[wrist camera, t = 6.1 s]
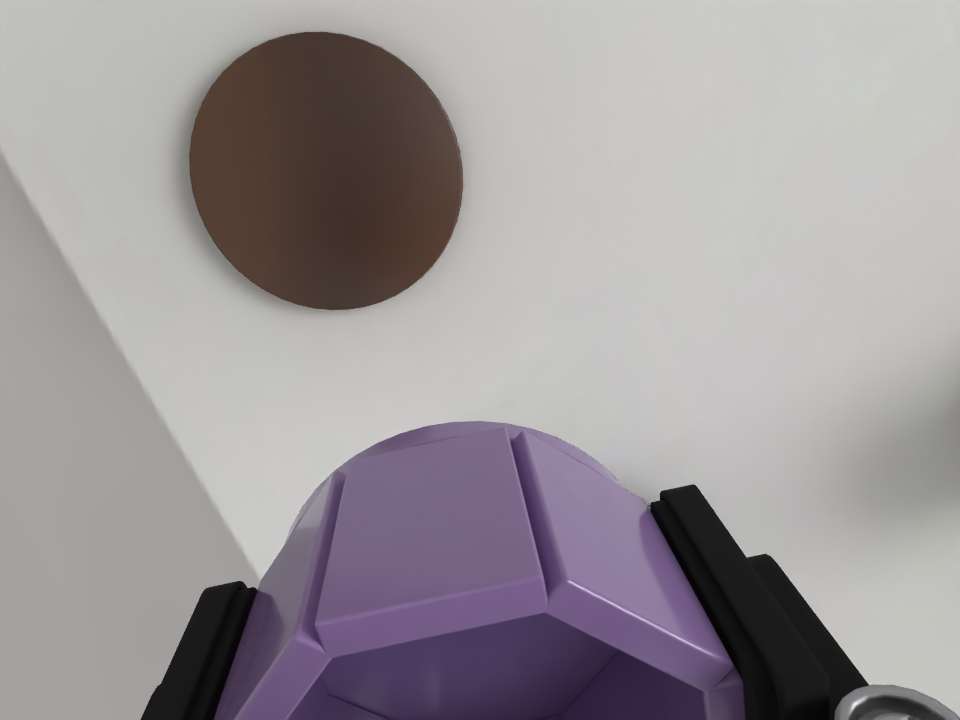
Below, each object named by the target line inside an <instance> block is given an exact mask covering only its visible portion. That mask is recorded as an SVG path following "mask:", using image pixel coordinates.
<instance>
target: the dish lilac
mask: <svg viewBox="0 0 960 720" xmlns="http://www.w3.org/2000/svg"><path fill="white" fill-rule="evenodd" d="M213 720H746V719H745V705H744V691H743V682H742V679H741V677H740V675H739V673H738V671H737V669H736V667H735V666H734V664H733V662H732V660H731V658H730V656H729V655H728V653H727V651H726V649H725V647H724V645H723V644H722V642H721V640H720V638H719V636H718V634H717V633H716V631H715V629H714V627H713V625H712V623H711V622H710V620H709V618H708V616H707V614H706V612H705V610H704V609H703V607H702V605H701V603H700V601H699V599H698V598H697V596H696V594H695V592H694V590H693V588H692V587H691V585H690V583H689V581H688V579H687V577H686V576H685V574H684V572H683V570H682V568H681V566H680V565H679V563H678V561H677V559H676V557H675V555H674V553H673V552H672V550H671V548H670V546H669V544H668V542H667V541H666V539H665V537H664V535H663V533H662V531H661V530H660V528H659V526H658V524H657V522H656V520H655V519H654V517H653V515H652V513H651V512H650V510H649V508H648V506H647V504H646V502H645V501H644V499H642V498H640V497H638V496H637V495H635V494H633V493H631V492H630V491H628V490H626V489H624V488H623V486H622V485H621V484H620V483H619V482H618V480H617V479H616V478H615V477H614V476H613V475H612V474H611V473H610V472H609V471H608V470H607V469H606V468H605V467H603V466H602V465H601V464H600V463H599V462H598V461H597V460H595V459H594V458H592V457H591V456H589V455H588V454H586V453H585V452H583V451H582V450H580V449H579V448H577V447H575V446H573V445H571V444H569V443H567V442H565V441H563V440H561V439H559V438H557V437H555V436H552V435H549V434H546V433H543V432H540V431H537V430H534V429H531V428H526V427H522V426H517V425H512V424H507V423H497V422H485V421H469V422H451V423H444V424H437V425H431V426H426V427H422V428H418V429H415V430H411V431H408V432H404V433H401V434H398V435H396V436H394V437H391V438H389V439H386V440H384V441H381V442H379V443H377V444H375V445H373V446H371V447H370V448H368V449H366V450H364V451H363V452H361V453H359V454H357V455H355V456H354V457H352V458H351V459H350V460H348V461H347V462H346V463H344V464H343V465H342V466H340V467H339V468H338V469H336V470H335V471H334V472H333V473H332V474H331V475H330V476H329V477H328V478H327V479H326V480H324V481H323V482H322V483H321V484H320V485H319V486H318V487H317V488H316V490H315V491H314V492H313V494H312V495H311V496H310V497H309V499H308V500H307V501H306V503H305V504H304V505H303V506H302V508H301V510H300V512H299V514H298V515H297V517H296V519H295V521H294V522H293V524H292V526H291V529H290V531H289V534H288V537H287V539H286V542H285V545H284V547H283V548H282V550H281V551H280V553H279V554H278V556H277V557H276V559H275V560H274V562H273V563H272V565H271V566H270V568H269V569H268V571H267V572H266V574H265V575H264V577H263V578H262V580H261V582H260V585H259V587H258V590H257V593H256V596H255V599H254V602H253V605H252V608H251V611H250V614H249V617H248V620H247V623H246V625H245V628H244V631H243V634H242V637H241V640H240V643H239V646H238V649H237V652H236V655H235V658H234V661H233V663H232V666H231V669H230V672H229V675H228V678H227V681H226V684H225V687H224V690H223V693H222V696H221V699H220V701H219V704H218V707H217V710H216V713H215V716H214V719H213Z"/></svg>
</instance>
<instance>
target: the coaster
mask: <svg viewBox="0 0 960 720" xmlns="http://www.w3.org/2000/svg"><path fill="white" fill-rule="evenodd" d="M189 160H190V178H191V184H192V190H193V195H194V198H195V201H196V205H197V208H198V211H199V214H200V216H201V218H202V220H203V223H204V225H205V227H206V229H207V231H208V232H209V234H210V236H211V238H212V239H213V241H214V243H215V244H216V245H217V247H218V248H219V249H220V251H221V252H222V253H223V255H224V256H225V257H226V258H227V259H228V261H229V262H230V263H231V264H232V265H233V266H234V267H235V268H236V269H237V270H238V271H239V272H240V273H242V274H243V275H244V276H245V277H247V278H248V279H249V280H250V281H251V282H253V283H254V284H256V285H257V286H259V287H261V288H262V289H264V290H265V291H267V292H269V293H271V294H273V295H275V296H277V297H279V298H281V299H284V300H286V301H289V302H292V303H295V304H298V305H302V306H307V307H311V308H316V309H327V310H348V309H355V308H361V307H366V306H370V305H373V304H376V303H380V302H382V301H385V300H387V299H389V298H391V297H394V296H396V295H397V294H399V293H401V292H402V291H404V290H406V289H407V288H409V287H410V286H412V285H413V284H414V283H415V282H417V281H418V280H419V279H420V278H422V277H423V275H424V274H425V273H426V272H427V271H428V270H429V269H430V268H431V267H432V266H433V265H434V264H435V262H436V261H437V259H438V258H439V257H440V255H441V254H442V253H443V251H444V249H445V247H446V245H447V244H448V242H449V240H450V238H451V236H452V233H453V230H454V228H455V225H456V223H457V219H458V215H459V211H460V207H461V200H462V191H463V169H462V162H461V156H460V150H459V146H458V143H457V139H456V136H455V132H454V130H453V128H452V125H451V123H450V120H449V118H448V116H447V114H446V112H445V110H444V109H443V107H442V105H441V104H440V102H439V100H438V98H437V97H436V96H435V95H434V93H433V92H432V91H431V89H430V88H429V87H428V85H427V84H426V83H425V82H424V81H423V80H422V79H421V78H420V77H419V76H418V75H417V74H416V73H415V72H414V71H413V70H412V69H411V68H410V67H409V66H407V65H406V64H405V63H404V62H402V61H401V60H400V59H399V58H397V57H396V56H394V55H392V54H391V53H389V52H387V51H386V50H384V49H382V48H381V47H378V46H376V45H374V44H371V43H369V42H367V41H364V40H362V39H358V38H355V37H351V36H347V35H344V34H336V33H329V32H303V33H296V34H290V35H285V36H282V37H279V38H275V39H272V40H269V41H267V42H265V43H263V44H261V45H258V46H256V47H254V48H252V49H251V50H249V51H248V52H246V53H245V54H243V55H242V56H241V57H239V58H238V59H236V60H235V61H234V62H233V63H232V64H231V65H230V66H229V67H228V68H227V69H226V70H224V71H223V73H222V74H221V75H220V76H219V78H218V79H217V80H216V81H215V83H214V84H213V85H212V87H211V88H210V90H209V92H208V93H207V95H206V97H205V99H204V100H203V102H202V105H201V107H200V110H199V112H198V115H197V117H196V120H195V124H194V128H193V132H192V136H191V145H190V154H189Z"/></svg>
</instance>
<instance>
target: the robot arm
mask: <svg viewBox="0 0 960 720" xmlns="http://www.w3.org/2000/svg"><path fill="white" fill-rule="evenodd" d="M650 511H651V513H652V515H653V517H654V519H655V520H656V522H657V524H658V526H659V528H660V530H661V531H662V533H663V535H664V537H665V539H666V541H667V542H668V544H669V546H670V548H671V550H672V552H673V553H674V555H675V557H676V559H677V561H678V563H679V565H680V566H681V568H682V570H683V572H684V574H685V576H686V577H687V579H688V581H689V583H690V585H691V587H692V588H693V590H694V592H695V594H696V596H697V598H698V599H699V601H700V603H701V605H702V607H703V609H704V610H705V612H706V614H707V616H708V618H709V620H710V622H711V623H712V625H713V627H714V629H715V631H716V633H717V634H718V636H719V638H720V640H721V642H722V644H723V645H724V647H725V649H726V651H727V653H728V655H729V656H730V658H731V660H732V662H733V664H734V666H735V667H736V669H737V671H738V673H739V675H740V677H741V679H742V682H743V691H744V705H745V719H746V720H960V718H959V717H958V715H957V714H956V713H955V712H953V711H952V710H950V709H949V708H947V707H946V706H945V705H943V704H942V703H940V702H939V701H937V700H936V699H934V698H932V697H929V696H927V695H925V694H922V693H920V692H918V691H916V690H913V689H908V688H904V687H900V686H895V685H870V686H869V684H868V683H867V682H866V680H865V679H864V678H863V676H862V675H861V674H860V673H859V671H858V670H857V669H856V667H855V666H854V665H853V663H852V662H851V661H850V659H849V658H848V657H847V655H846V654H845V653H844V651H843V650H842V649H841V647H840V646H839V645H838V643H837V642H836V641H835V639H834V638H833V637H832V635H831V634H830V633H829V631H828V630H827V629H826V627H825V626H824V625H823V624H822V622H821V621H820V620H819V618H818V617H817V616H816V614H815V613H814V612H813V610H812V609H811V608H810V606H809V605H808V604H807V602H806V601H805V600H804V598H803V597H802V596H801V594H800V593H799V592H798V590H797V589H796V588H795V586H794V585H793V584H792V582H791V581H790V580H789V578H788V577H787V576H786V575H785V573H784V572H783V571H782V569H781V568H780V567H779V565H778V564H777V563H776V562H775V560H774V559H773V558H772V557H771V556H769V555H767V554H762V555H757V556H753V557H748V558H746V556H745V555H744V553H743V552H742V550H741V549H740V548H739V546H738V545H737V543H736V542H735V540H734V539H733V538H732V536H731V535H730V533H729V532H728V530H727V529H726V528H725V526H724V525H723V523H722V522H721V520H720V519H719V517H718V516H717V515H716V513H715V512H714V510H713V509H712V507H711V506H710V505H709V503H708V502H707V500H706V499H705V497H704V496H703V495H702V493H701V492H700V490H699V489H698V488H697V487H696V485H688V486H683V487H679V488H674V489H669V490H664V491H661V493H660V501H656V502H651V504H650ZM256 593H257V589H256V588H254V587H252V588H247V587H246V585H245V584H244V583H243V582H242V581H237V582H232V583H228V584H223V585H218V586H213V587H209V588H206V589H205V590H204V591H203V593H202V594H201V597H200V599H199V602H198V603H197V605H196V608H195V610H194V612H193V615H192V616H191V619H190V621H189V623H188V625H187V628H186V630H185V632H184V634H183V636H182V639H181V641H180V643H179V645H178V647H177V650H176V652H175V654H174V656H173V659H172V661H171V663H170V665H169V668H168V670H167V672H166V674H165V676H164V678H163V681H162V683H161V684H160V685H159V686H157V688H156V690H155V691H154V693H153V694H152V696H151V698H150V700H149V702H148V705H147V707H146V709H145V711H144V714H143V716H142V718H141V720H213V719H214V716H215V713H216V710H217V707H218V704H219V701H220V699H221V696H222V693H223V690H224V687H225V684H226V681H227V678H228V675H229V672H230V669H231V666H232V663H233V661H234V658H235V655H236V652H237V649H238V646H239V643H240V640H241V637H242V634H243V631H244V628H245V625H246V623H247V620H248V617H249V614H250V611H251V608H252V605H253V602H254V599H255V596H256Z"/></svg>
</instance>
